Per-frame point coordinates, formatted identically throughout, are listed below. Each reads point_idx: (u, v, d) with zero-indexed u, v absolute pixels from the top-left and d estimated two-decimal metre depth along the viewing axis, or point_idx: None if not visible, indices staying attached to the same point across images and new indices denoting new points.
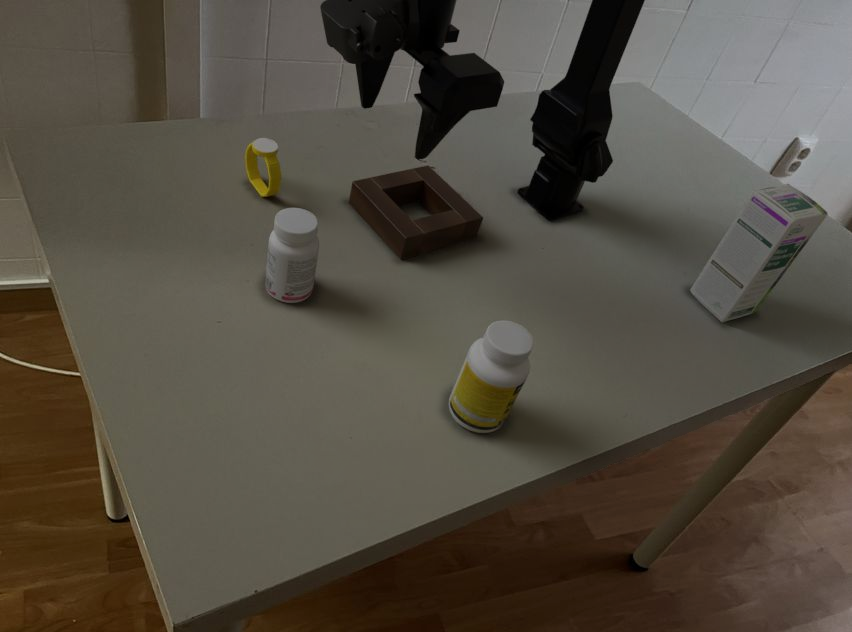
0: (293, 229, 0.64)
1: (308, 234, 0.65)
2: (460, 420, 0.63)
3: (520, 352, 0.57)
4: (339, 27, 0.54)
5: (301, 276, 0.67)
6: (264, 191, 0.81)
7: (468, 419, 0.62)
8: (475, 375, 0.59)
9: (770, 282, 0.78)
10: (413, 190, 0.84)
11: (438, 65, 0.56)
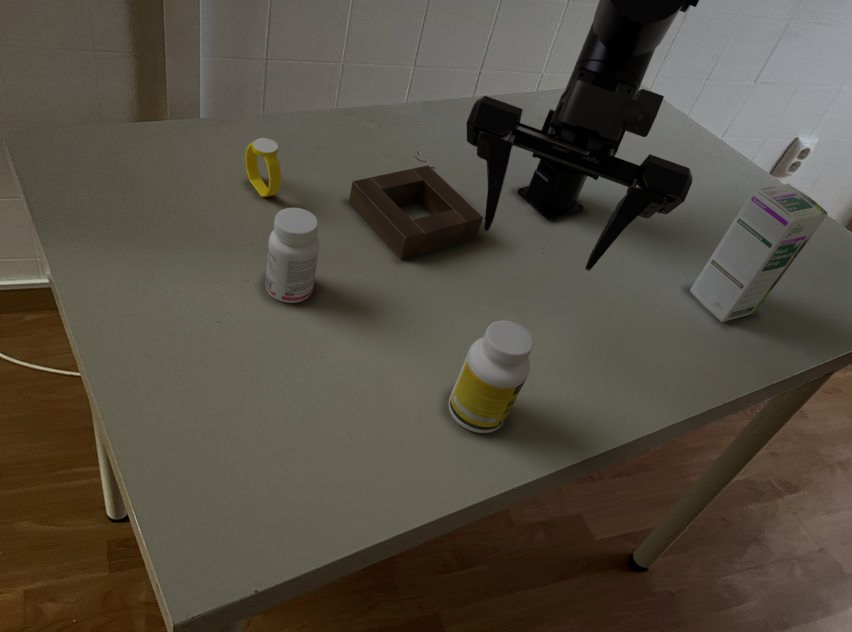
0: (293, 229, 0.64)
1: (308, 234, 0.65)
2: (460, 420, 0.63)
3: (520, 352, 0.57)
4: (621, 97, 0.52)
5: (301, 275, 0.67)
6: (264, 191, 0.81)
7: (468, 419, 0.62)
8: (475, 375, 0.59)
9: (770, 282, 0.78)
10: (413, 190, 0.84)
11: (661, 159, 0.57)
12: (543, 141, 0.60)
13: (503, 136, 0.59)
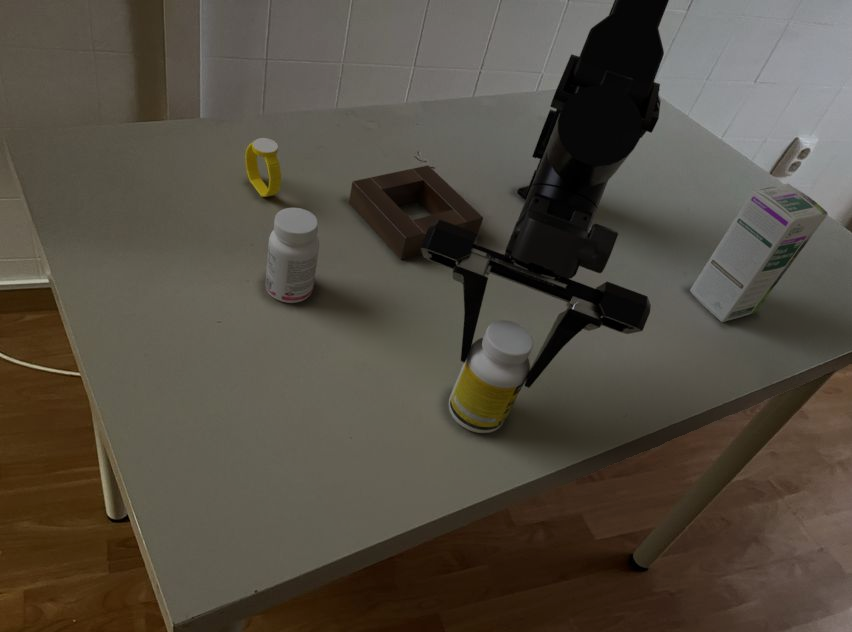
0: (293, 229, 0.64)
1: (308, 234, 0.65)
2: (460, 420, 0.63)
3: (520, 352, 0.57)
4: (574, 237, 0.50)
5: (301, 275, 0.67)
6: (264, 191, 0.81)
7: (468, 419, 0.62)
8: (475, 375, 0.59)
9: (770, 282, 0.78)
10: (413, 190, 0.84)
11: (619, 287, 0.56)
12: (520, 272, 0.58)
13: (479, 269, 0.57)
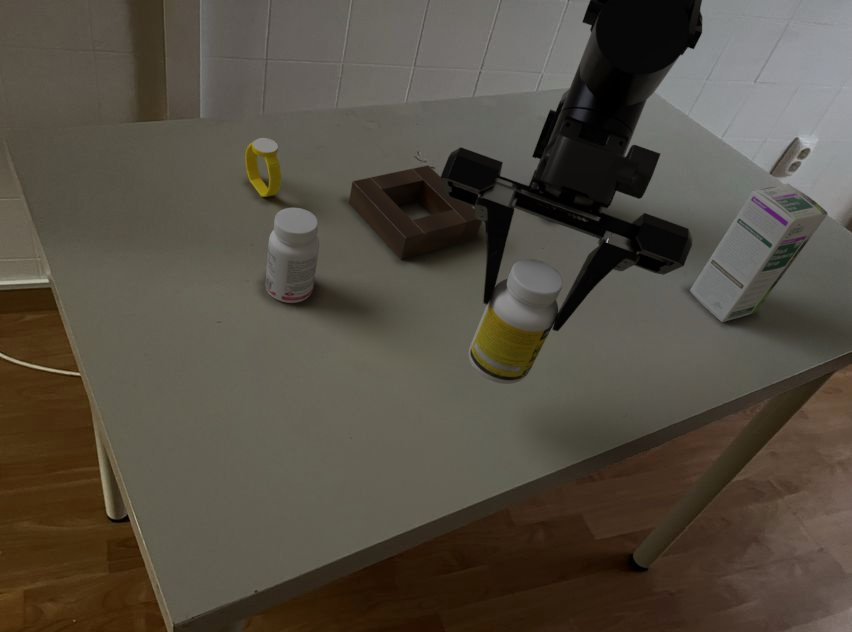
0: (293, 229, 0.64)
1: (308, 234, 0.65)
2: (482, 370, 0.58)
3: (549, 290, 0.52)
4: (612, 156, 0.46)
5: (301, 275, 0.67)
6: (264, 191, 0.81)
7: (490, 368, 0.57)
8: (499, 318, 0.54)
9: (770, 282, 0.78)
10: (413, 190, 0.84)
11: (657, 219, 0.51)
12: (548, 205, 0.53)
13: (504, 200, 0.53)
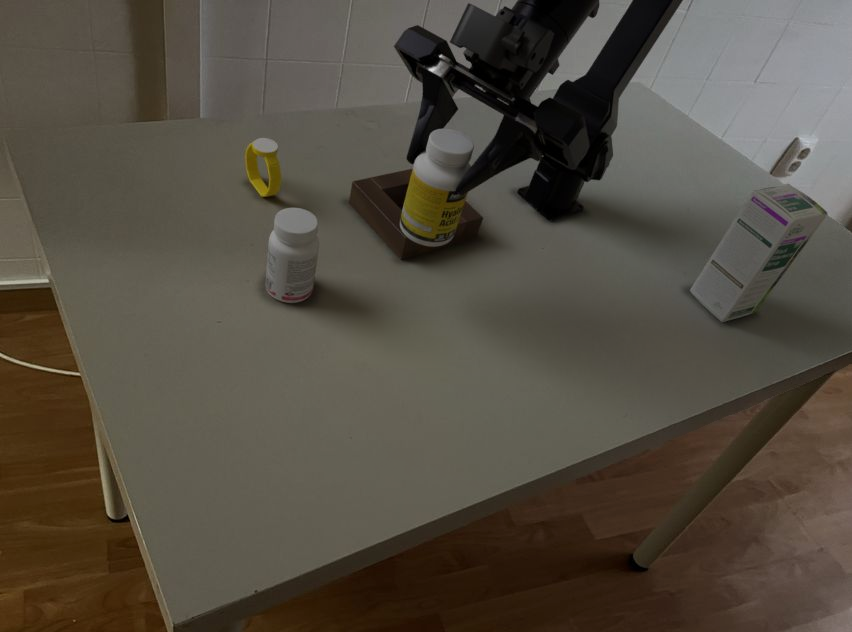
0: (293, 229, 0.64)
1: (308, 234, 0.65)
2: (403, 227, 0.66)
3: (453, 151, 0.60)
4: (501, 22, 0.53)
5: (301, 275, 0.67)
6: (264, 191, 0.81)
7: (408, 225, 0.66)
8: (414, 173, 0.63)
9: (770, 282, 0.78)
10: None
11: (559, 103, 0.57)
12: (477, 84, 0.61)
13: (439, 72, 0.61)
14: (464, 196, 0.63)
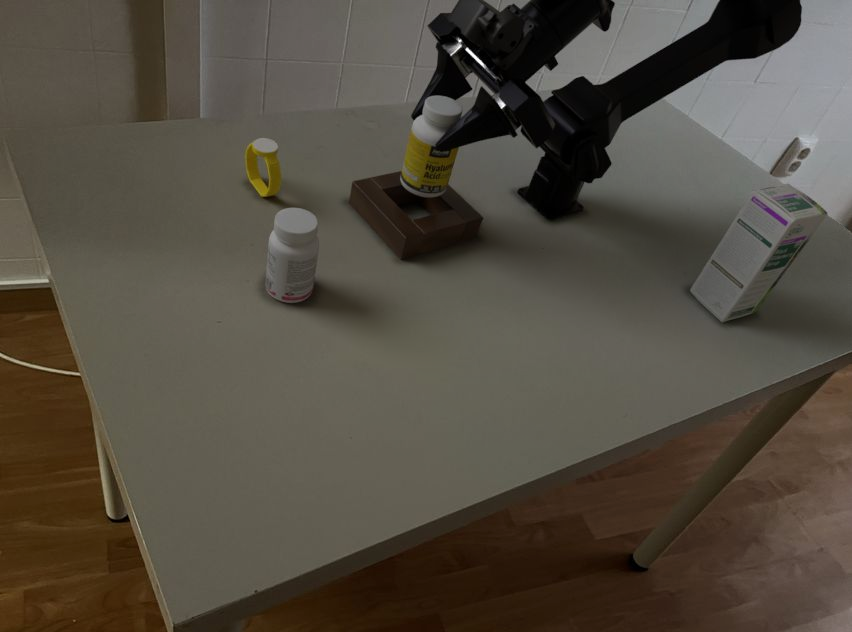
0: (293, 229, 0.64)
1: (308, 234, 0.65)
2: (401, 175, 0.79)
3: (438, 111, 0.72)
4: (480, 4, 0.65)
5: (301, 275, 0.67)
6: (264, 191, 0.81)
7: (403, 173, 0.78)
8: None
9: (770, 282, 0.78)
10: None
11: (525, 84, 0.67)
12: (479, 64, 0.72)
13: (452, 50, 0.74)
14: (448, 155, 0.75)
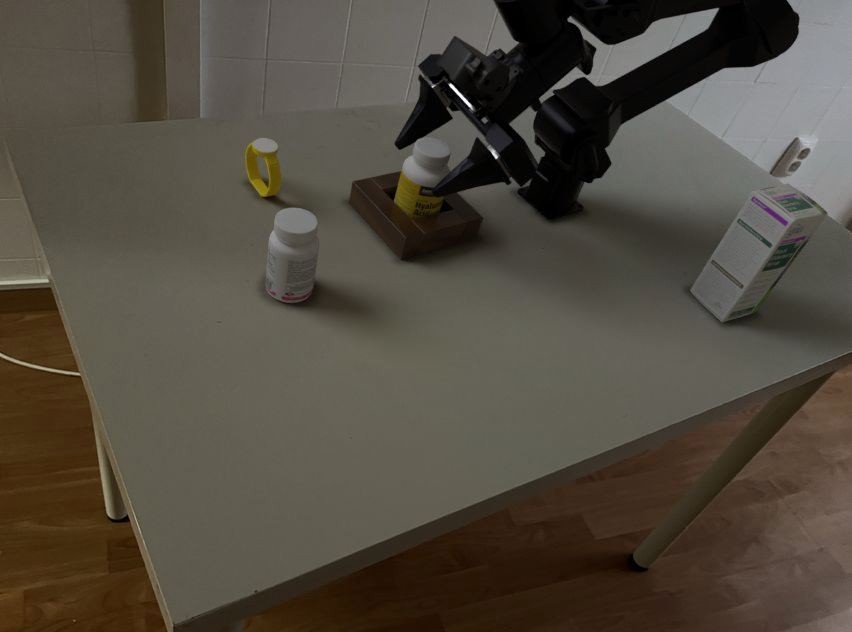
0: (293, 229, 0.64)
1: (308, 234, 0.65)
2: None
3: (428, 154, 0.75)
4: (468, 52, 0.68)
5: (301, 275, 0.67)
6: (264, 191, 0.81)
7: None
8: (402, 167, 0.79)
9: (770, 282, 0.78)
10: None
11: (510, 127, 0.70)
12: (458, 96, 0.77)
13: (433, 82, 0.78)
14: None
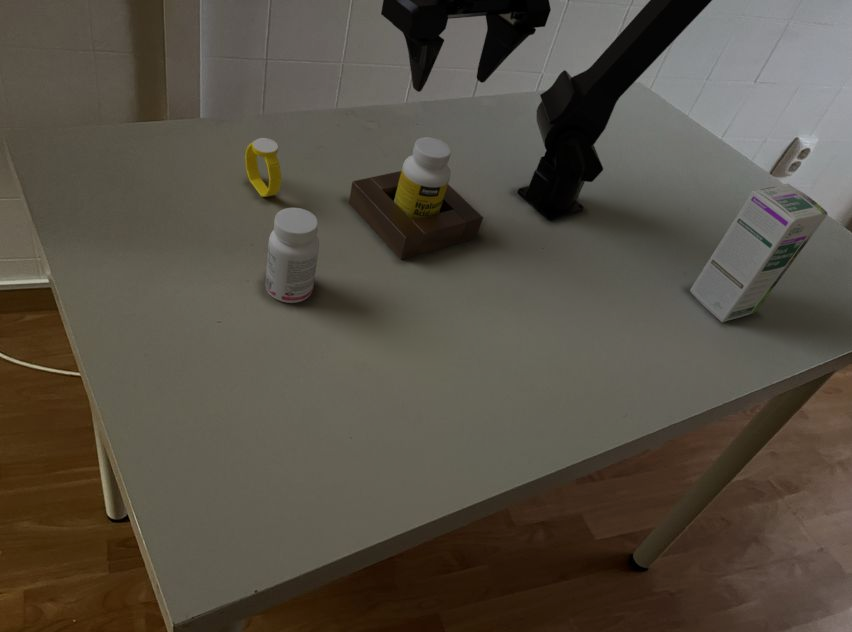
0: (293, 229, 0.64)
1: (308, 234, 0.65)
2: None
3: (428, 154, 0.75)
4: None
5: (301, 275, 0.67)
6: (264, 191, 0.81)
7: None
8: (402, 167, 0.79)
9: (770, 282, 0.78)
10: None
11: None
12: None
13: None
14: (436, 194, 0.78)
